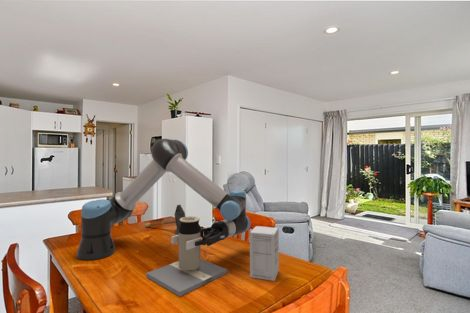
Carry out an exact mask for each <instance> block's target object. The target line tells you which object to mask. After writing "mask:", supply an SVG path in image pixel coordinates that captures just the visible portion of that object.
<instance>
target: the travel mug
mask: <svg viewBox="0 0 470 313" xmlns="http://www.w3.org/2000/svg"><path fill="white" fill-rule="evenodd" d="M200 220H201V219H200V217H198V216H193V215H191V216H185V217H182V218H180V222H181V225H180V227H179V234H178V235H179V243H178V261H179V268H180V269H183V270H195V269H197V268H198V267H200V259H201V245H200V246H198V247H195V248H192V249H189V250H186V242H187V241H190V240H193V239H197V238H201V237H200V227H201V226H200V224H199V223H200Z"/></svg>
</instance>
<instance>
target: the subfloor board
mask: <svg viewBox="0 0 470 313" xmlns="http://www.w3.org/2000/svg"><path fill="white" fill-rule="evenodd" d="M226 274H228V269H227V268H225V267H223V266H220V265H217V264H215V263H213V262H210V261H207V260H205V259H203V258H200V267H198V268H197V269H195V270H183V269H180V268H179V260H178V261H175V262H172V263H170V264H167V265H164V266H161V267H158V268H156V269H153V270H150V271H148V272H146V273H145V277H146V278H147V279H148V280H150V281H153V282H154V283H156V284H158V285H159V286H161V287H162V288H164V289H166V290H168V291H169V292H171V293H172V294H174V295H176V296H178V297H183V296H185V295H186V294H189V293H191V292H193V291H194V290H196V289H198V288H200V287H202V286H204V285H207V284H209V283H210V282H212V281H215V280H217V279H218V278H221V277H222V276H225V275H226Z"/></svg>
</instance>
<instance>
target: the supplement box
mask: <svg viewBox="0 0 470 313" xmlns="http://www.w3.org/2000/svg"><path fill="white" fill-rule="evenodd" d="M279 244H280V243H279V227H269V226H260V225H256V226H255V227H253V229H252V230H251V231H250V233H249V278H253V279H259V280H266V281H271V282H274V281H276V278H277V276H278V274H279V272H280V260H279V258H280V256H279V254H280V252H279V249H280V248H279V246H280V245H279Z"/></svg>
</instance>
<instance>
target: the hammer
mask: <svg viewBox="0 0 470 313" xmlns="http://www.w3.org/2000/svg"><path fill="white" fill-rule="evenodd" d="M182 217H186V212H185V211H184V209H183V207H182V205H181V204H176V207H175V212H174V219H172V220H164V221H157V222H146V223H145V224H144V227H146V228H149V227H154V226H160V225H161V226H162V225H169V224H175V227H176V229H175V230H174V233H175V234H176V235H179V227H180V225H181V222H180V218H182Z"/></svg>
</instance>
